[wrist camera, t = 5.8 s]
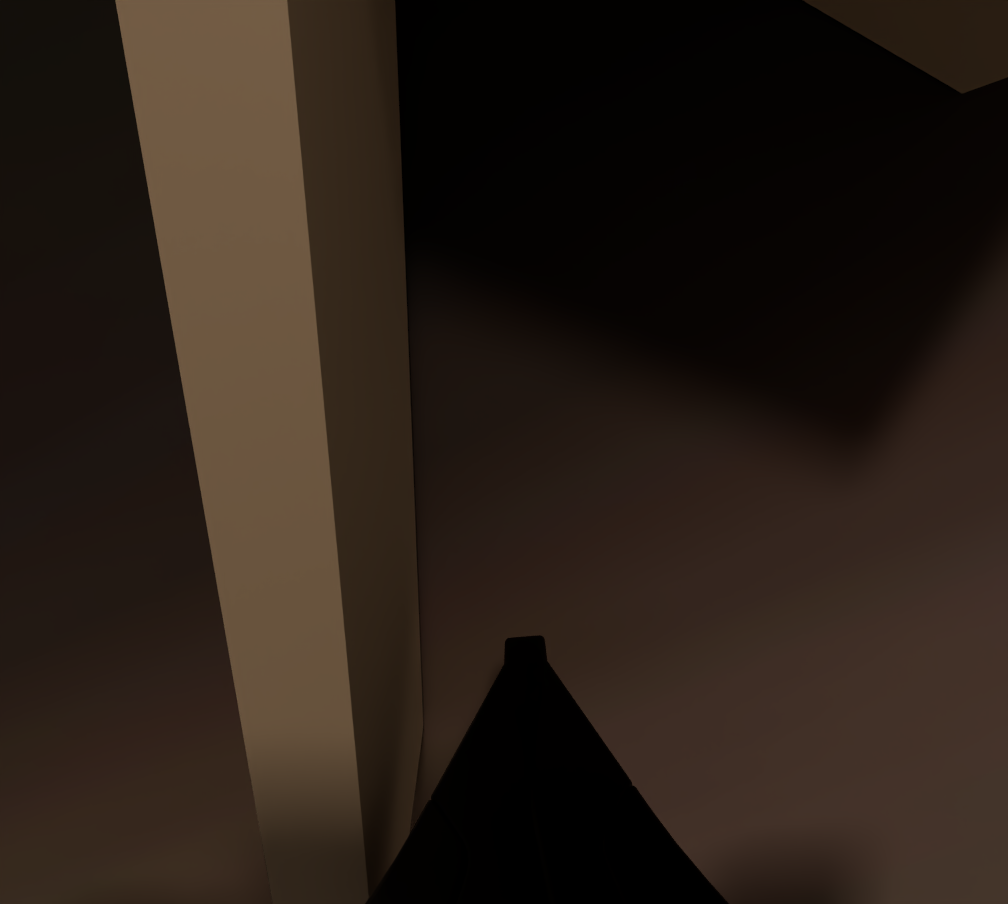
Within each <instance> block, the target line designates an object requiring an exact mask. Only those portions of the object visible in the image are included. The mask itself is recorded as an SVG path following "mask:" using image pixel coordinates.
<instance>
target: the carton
mask: <svg viewBox="0 0 1008 904" xmlns="http://www.w3.org/2000/svg"><path fill="white" fill-rule="evenodd" d="M803 1H805V2H806V3H808V4H810V5H811V6H813V7H815V8H817V9H818V10H820V11H822V12H823V13H825V14H827V15H829V16H830V17H832V18H834V19H835V20H837V21H839V22H841V23H842V24H844V25H846V26H847V27H849V28H851V29H852V30H854V31H856V32H858V33H859V34H861V35H863V36H864V37H866V38H868V39H870V40H871V41H873V42H875V43H876V44H878V45H880V46H882V47H883V48H885V49H887V50H888V51H890V52H892V53H894V54H895V55H897V56H899V57H900V58H902V59H904V60H905V61H907V62H909V63H911V64H912V65H914V66H916V67H917V68H919V69H921V70H923V71H924V72H926V73H928V74H929V75H931V76H933V77H935V78H936V79H938V80H940V81H941V82H943V83H945V84H947V85H948V86H950V87H952V88H953V89H955V90H957V91H958V92H960V93H962V94H963V93H965V92H968V91H971V90H974V89H976V88H979V87H982V86H985V85H988V84H990V83H993V82H996V81H999V80H1001V79H1004V78H1007V77H1008V0H803Z"/></svg>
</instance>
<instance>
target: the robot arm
mask: <svg viewBox="0 0 1008 904" xmlns="http://www.w3.org/2000/svg"><path fill="white" fill-rule="evenodd" d="M365 904H729V903H728V902H727V901H726V900H725V899H724V898H723V897H722V896H721V894H720V893H719V892H718V891H717V890H716V889H715V888H714V887H713V885H712V884H711V883H710V882H709V881H708V880H707V879H706V877H705V876H704V875H703V874H702V873H701V871H700V870H699V869H698V868H697V867H696V866H695V864H694V863H693V862H692V861H691V860H690V858H689V857H688V856H687V855H686V854H685V853H684V851H683V850H682V849H681V848H680V847H679V845H678V844H677V843H676V842H675V840H674V839H673V838H672V836H671V835H670V834H669V832H668V831H667V830H666V828H665V827H664V826H663V824H662V823H661V822H660V820H659V819H658V818H657V816H656V815H655V814H654V812H653V811H652V810H651V808H650V807H649V806H648V804H647V803H646V801H645V800H644V798H643V797H642V795H641V794H640V793H639V791H638V790H637V788H636V787H635V786H632V782H631V780H630V779H629V777H628V776H627V774H626V773H625V772H624V770H623V769H622V767H621V766H620V764H619V763H618V762H617V760H616V759H615V757H614V756H613V754H612V753H611V752H610V750H609V749H608V747H607V746H606V744H605V743H604V742H603V740H602V739H601V737H600V736H599V734H598V733H597V732H596V730H595V729H594V727H593V726H592V724H591V723H590V722H589V720H588V719H587V717H586V716H585V714H584V713H583V711H582V710H581V709H580V707H579V706H578V704H577V703H576V701H575V700H574V699H573V697H572V696H571V694H570V693H569V691H568V690H567V689H566V687H565V686H564V684H563V683H562V681H561V680H560V679H559V677H558V676H557V674H556V673H555V671H554V670H553V669H552V667H551V666H550V664H549V663H548V661H547V655H546V646H545V639H544V637H543V636H540V635H539V636H526V637H514V638H508V639H506V641H505V655H504V665H503V667H502V669H501V671H500V673H499V674H498V676H497V678H496V680H495V682H494V683H493V685H492V687H491V689H490V691H489V692H488V694H487V696H486V698H485V700H484V701H483V703H482V705H481V707H480V709H479V711H478V712H477V714H476V716H475V718H474V720H473V721H472V723H471V725H470V727H469V729H468V730H467V732H466V734H465V736H464V738H463V740H462V741H461V743H460V745H459V747H458V749H457V750H456V752H455V754H454V756H453V758H452V759H451V761H450V763H449V765H448V767H447V768H446V770H445V772H444V774H443V776H442V778H441V779H440V781H439V783H438V785H437V787H436V788H435V790H434V792H433V794H432V796H431V800H429V801H428V802H427V804H426V806H425V808H424V810H423V811H422V813H421V815H420V817H419V819H418V821H417V822H416V824H415V826H414V828H413V829H412V831H411V833H410V834H409V836H408V838H407V839H406V841H405V843H404V844H403V846H402V848H401V850H400V851H399V853H398V855H397V856H396V858H395V860H394V861H393V863H392V864H391V866H390V867H389V869H388V870H387V872H386V873H385V875H384V876H383V878H382V879H381V881H380V882H379V884H378V885H377V887H376V888H375V890H374V891H373V893H372V894H371V896H370V897H369V898H368V900H367V901H366V903H365Z"/></svg>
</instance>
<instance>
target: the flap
mask: <svg viewBox="0 0 1008 904" xmlns="http://www.w3.org/2000/svg"><path fill="white" fill-rule="evenodd" d="M116 6H117V12H118V18H119V23H120V29H121V35H122V41H123V46H124V52H125V58H126V64H127V69H128V75H129V81H130V87H131V92H132V98H133V104H134V110H135V115H136V121H137V127H138V133H139V138H140V144H141V150H142V156H143V161H144V167H145V173H146V179H147V184H148V190H149V196H150V202H151V207H152V213H153V219H154V225H155V230H156V236H157V242H158V248H159V253H160V259H161V265H162V271H163V276H164V282H165V288H166V294H167V299H168V305H169V311H170V317H171V322H172V328H173V334H174V340H175V345H176V351H177V357H178V363H179V368H180V374H181V380H182V386H183V391H184V397H185V403H186V409H187V414H188V420H189V426H190V432H191V437H192V443H193V449H194V455H195V460H196V466H197V472H198V478H199V483H200V489H201V495H202V501H203V506H204V512H205V518H206V524H207V529H208V535H209V541H210V547H211V552H212V558H213V564H214V570H215V575H216V581H217V587H218V593H219V598H220V604H221V610H222V616H223V621H224V627H225V633H226V639H227V644H228V650H229V656H230V662H231V667H232V673H233V679H234V685H235V690H236V696H237V702H238V708H239V713H240V719H241V725H242V731H243V736H244V742H245V748H246V754H247V759H248V765H249V771H250V777H251V782H252V788H253V794H254V800H255V805H256V811H257V817H258V823H259V828H260V834H261V840H262V846H263V851H264V857H265V863H266V869H267V874H268V880H269V886H270V892H271V897H272V903H273V904H365V903H366V901H367V900H368V898H369V897H370V896H371V894H372V893H373V891H374V890H375V888H376V887H377V885H378V884H379V882H380V881H381V879H382V878H383V876H384V875H385V873H386V872H387V870H388V869H389V867H390V866H391V864H392V863H393V861H394V860H395V858H396V856H397V855H398V853H399V851H400V850H401V848H402V846H403V844H404V843H405V841H406V839H407V838H408V836H409V834H410V826H411V818H412V811H413V803H414V795H415V787H416V780H417V772H418V764H419V756H420V749H421V741H422V733H423V705H422V679H421V653H420V628H419V602H418V576H417V551H416V525H415V499H414V474H413V448H412V422H411V397H410V371H409V345H408V320H407V294H406V268H405V243H404V217H403V191H402V166H401V140H400V114H399V89H398V63H397V37H396V12H395V0H116Z"/></svg>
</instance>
